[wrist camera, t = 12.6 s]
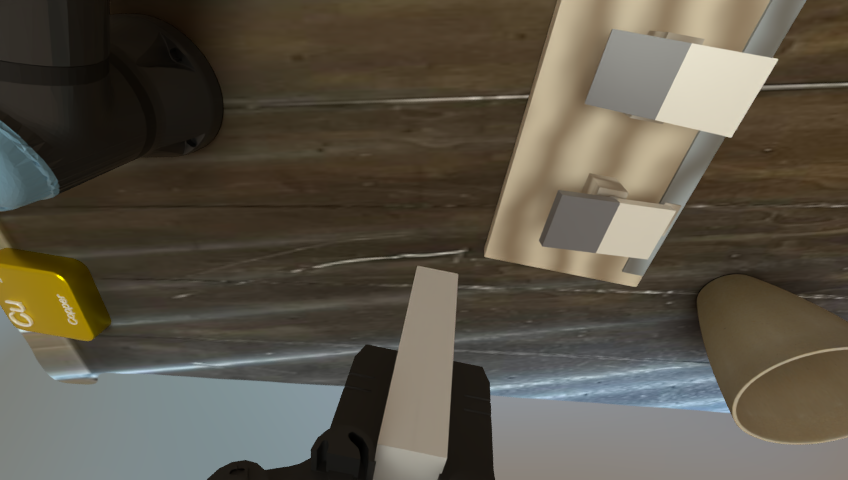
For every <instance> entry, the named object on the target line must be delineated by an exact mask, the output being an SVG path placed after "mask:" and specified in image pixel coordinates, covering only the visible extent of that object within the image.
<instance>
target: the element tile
mask: <svg viewBox="0 0 848 480" xmlns="http://www.w3.org/2000/svg"><path fill="white" fill-rule="evenodd" d="M0 305H1V307H2V309H3V310H4V312H5V313H6V315H7V316H8V318H9V319H10V321H11V322H12V324H13V325H14V326H15V327H16V328H19V329H22V330H26V331H32V332H37V333H43V334H49V335H55V336H60V337H66V338H72V339H78V340H84V341H91V340H93V339H94V338H95V337H96V336H97V335H99V334H100V333H101V332H102V331H103V330H104V329H106V328H107V327H108V326H109V325H110V324H111V319H110V316H109V314H108V312H107V310H106V307H105V305H104V303H103V301H102V298H101V296H100V294H99V292H98V289H97V287H96V285H95V283H94V280H93V278H92V276H91V274H90V271H89V270H88V268H87V267H86V266H85V265H84V264H83V263H82V262H80V261H78V260H76V259H73V258H67V257H61V256H55V255H49V254H43V253H37V252H31V251H25V250H18V249H12V248H4V249H1V250H0Z"/></svg>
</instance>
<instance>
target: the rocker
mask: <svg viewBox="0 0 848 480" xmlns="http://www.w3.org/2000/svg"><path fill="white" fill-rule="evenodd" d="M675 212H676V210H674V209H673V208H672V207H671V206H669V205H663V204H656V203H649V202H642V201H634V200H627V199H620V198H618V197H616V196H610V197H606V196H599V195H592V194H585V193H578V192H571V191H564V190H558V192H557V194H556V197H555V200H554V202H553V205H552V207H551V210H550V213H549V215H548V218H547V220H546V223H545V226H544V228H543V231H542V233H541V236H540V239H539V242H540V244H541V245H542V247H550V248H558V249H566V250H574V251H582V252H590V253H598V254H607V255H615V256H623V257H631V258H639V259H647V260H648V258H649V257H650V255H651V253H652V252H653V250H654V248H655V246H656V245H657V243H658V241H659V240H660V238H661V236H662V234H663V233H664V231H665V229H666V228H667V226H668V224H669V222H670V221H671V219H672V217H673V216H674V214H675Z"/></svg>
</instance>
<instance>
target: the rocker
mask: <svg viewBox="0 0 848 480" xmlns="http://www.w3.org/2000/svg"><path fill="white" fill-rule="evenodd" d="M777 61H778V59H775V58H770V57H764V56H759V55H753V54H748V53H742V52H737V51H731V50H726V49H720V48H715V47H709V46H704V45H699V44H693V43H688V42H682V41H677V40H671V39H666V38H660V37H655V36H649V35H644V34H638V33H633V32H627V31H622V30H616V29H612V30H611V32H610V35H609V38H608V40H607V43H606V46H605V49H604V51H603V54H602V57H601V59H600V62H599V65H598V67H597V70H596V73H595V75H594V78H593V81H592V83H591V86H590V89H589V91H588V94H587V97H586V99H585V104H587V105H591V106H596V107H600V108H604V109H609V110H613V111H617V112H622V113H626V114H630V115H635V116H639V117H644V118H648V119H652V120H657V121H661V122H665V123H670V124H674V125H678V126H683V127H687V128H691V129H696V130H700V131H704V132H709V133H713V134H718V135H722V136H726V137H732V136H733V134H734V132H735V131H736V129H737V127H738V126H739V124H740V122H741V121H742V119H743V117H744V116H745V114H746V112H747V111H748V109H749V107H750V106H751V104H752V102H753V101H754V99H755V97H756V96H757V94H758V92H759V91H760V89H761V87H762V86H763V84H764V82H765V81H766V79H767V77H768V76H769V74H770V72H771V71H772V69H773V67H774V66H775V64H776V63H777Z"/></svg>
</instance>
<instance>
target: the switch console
mask: <svg viewBox="0 0 848 480" xmlns="http://www.w3.org/2000/svg"><path fill="white" fill-rule="evenodd" d="M805 2H806V0H557V3H556V7H555V10H554V14H553V17H552V20H551V24H550V27H549V31H548V34H547V37H546V41H545V44H544V48H543V51H542V54H541V58H540V61H539V64H538V68H537V71H536V75H535V78H534V81H533V85H532V88H531V92H530V95H529V98H528V102H527V105H526V109H525V112H524V115H523V119H522V122H521V125H520V129H519V132H518V136H517V139H516V142H515V146H514V149H513V153H512V156H511V159H510V163H509V166H508V170H507V173H506V176H505V180H504V183H503V186H502V190H501V193H500V197H499V200H498V203H497V207H496V210H495V214H494V217H493V220H492V224H491V227H490V231H489V234H488V237H487V241H486V244H485V247H484V257H487V258H492V259H497V260H502V261H507V262H512V263H517V264H522V265H527V266H532V267H537V268H542V269H547V270H553V271H558V272H563V273H568V274H573V275H578V276H583V277H588V278H593V279H598V280H603V281H608V282H613V283H618V284H623V285H628V286H633V287H637V285H638V283H639V282H640V280H641V278H642V277H643V275H644V273H645V272H646V270H647V268H648V267H649V265H650V263H651V261H652V260H653V258H654V256H655V255H656V253H657V251H658V250H659V248H660V246H661V245H662V243H663V241H664V240H665V238H666V236H667V234H668V233H669V231H670V229H671V228H672V226H673V224H674V223H675V221H676V219H677V218H678V216H679V214H680V213H681V211H682V209H683V207H684V206H685V204H686V202H687V201H688V199H689V197H690V196H691V194H692V192H693V191H694V189H695V187H696V186H697V184H698V182H699V180H700V179H701V177H702V175H703V174H704V172H705V170H706V169H707V167H708V165H709V164H710V162H711V160H712V159H713V157H714V155H715V153H716V152H717V150H718V148H719V147H720V145H721V143H722V142H723V140H724V138H725V137H726V136H722V135H718V134H713V133H709V132H704V131H700V130H696V129H691V128H687V127H683V126H678V125H674V124H670V123H665V122H661V121H657V120H652V119H648V118H644V117H639V116H635V115H630V114H626V113H622V112H617V111H613V110H609V109H604V108H600V107H596V106H591V105H587V104H585V99H586V97H587V94H588V91H589V89H590V86H591V83H592V81H593V78H594V75H595V73H596V70H597V67H598V65H599V62H600V59H601V57H602V54H603V51H604V49H605V46H606V43H607V40H608V38H609V35H610V32H611V30H612V29H616V30H622V31H627V32H633V33H638V34H644V35H649V36H655V37H660V38H666V39H671V40H677V41H682V42H688V43H693V44H699V45H704V46H709V47H715V48H720V49H726V50H731V51H737V52H742V53H748V54H753V55H759V56H764V57H770V58H772V57H773V56H774V54H775V52H776V50H777V49H778V47H779V45H780V44H781V42H782V40H783V39H784V37H785V35H786V34H787V32H788V30H789V29H790V27H791V25H792V23H793V22H794V20H795V18H796V17H797V15H798V13H799V12H800V10H801V8H802V7H803V5H804V3H805ZM558 190H564V191H571V192H578V193H585V194H592V195H599V196H606V197H610V196H616V197H618V198H620V199H627V200H634V201H642V202H649V203H656V204H663V205H669V206H671V207H672V208H673V209H674V210H676V212H675V214H674V216H673V217H672V219H671V221H670V222H669V224H668V226H667V228H666V229H665V231H664V233H663V234H662V236H661V238H660V240H659V241H658V243H657V245H656V246H655V248H654V250H653V252H652V253H651V255H650V257H649V258H648V260H647V259H639V258H631V257H623V256H615V255H607V254H598V253H590V252H582V251H574V250H566V249H558V248H550V247H542V245H541V244H540V242H539V239H540V236H541V233H542V231H543V228H544V226H545V223H546V220H547V218H548V215H549V213H550V210H551V207H552V205H553V202H554V200H555V197H556V194H557V192H558Z"/></svg>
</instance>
